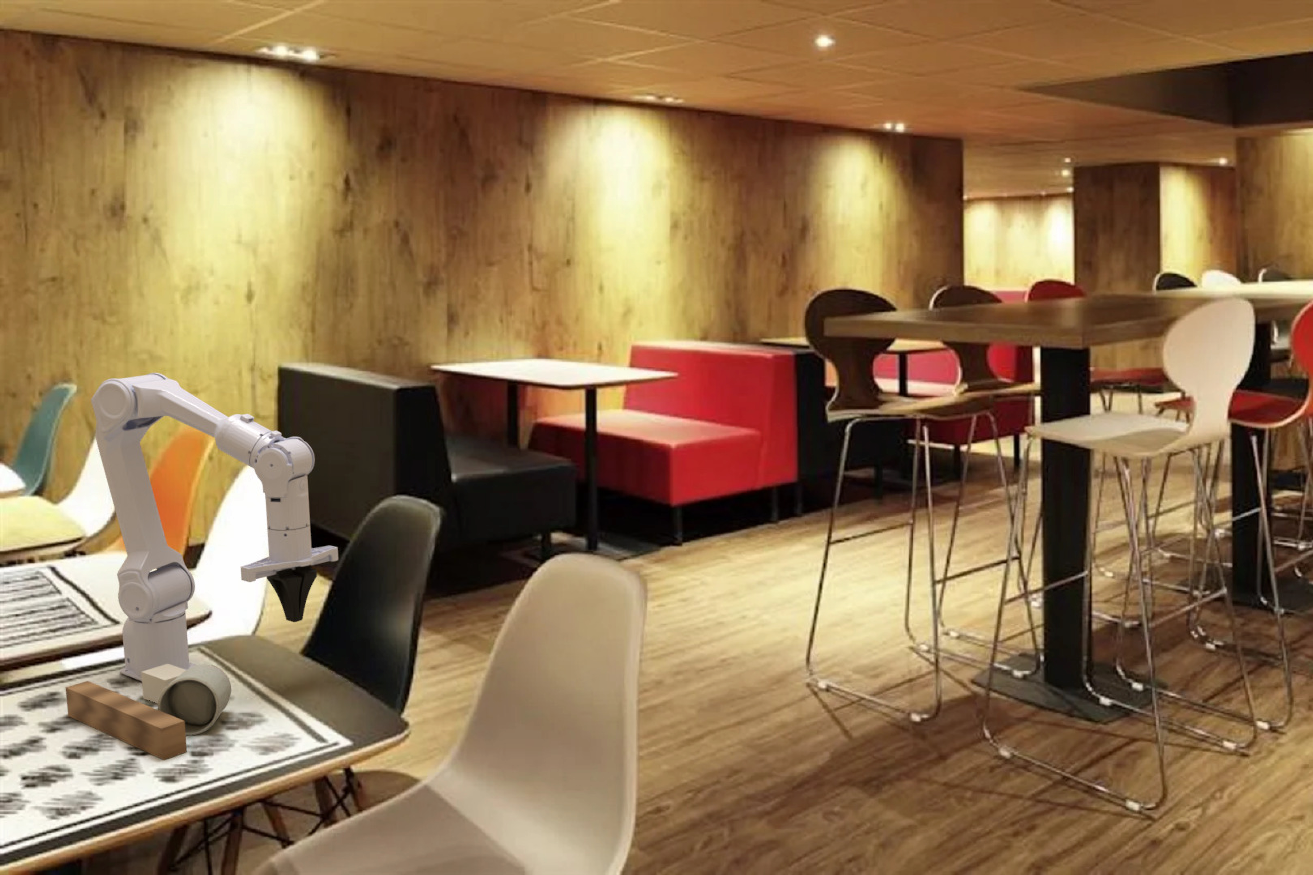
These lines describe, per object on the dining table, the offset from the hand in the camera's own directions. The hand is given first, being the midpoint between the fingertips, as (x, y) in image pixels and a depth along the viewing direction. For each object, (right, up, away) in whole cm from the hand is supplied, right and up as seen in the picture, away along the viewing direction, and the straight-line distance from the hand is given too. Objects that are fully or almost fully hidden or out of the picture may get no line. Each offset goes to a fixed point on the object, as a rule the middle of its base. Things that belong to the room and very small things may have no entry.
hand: (294, 620), depth 165 cm
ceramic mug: (-10, -12, -12) cm, 20 cm away
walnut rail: (-17, -12, -14) cm, 26 cm away
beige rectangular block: (-17, -11, -2) cm, 20 cm away
